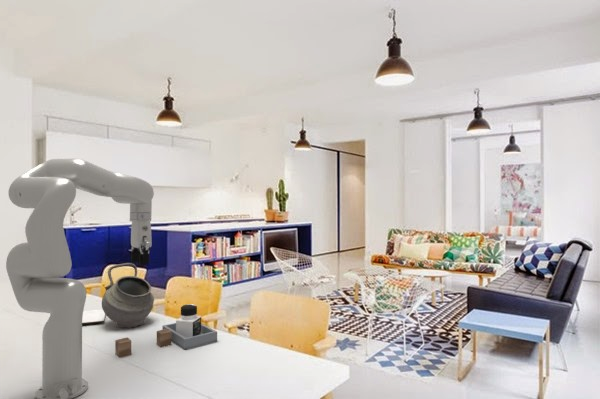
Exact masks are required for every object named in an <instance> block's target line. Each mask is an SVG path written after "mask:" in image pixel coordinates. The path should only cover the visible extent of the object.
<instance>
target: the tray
mask: <svg viewBox="0 0 600 399" xmlns="http://www.w3.org/2000/svg"><path fill="white" fill-rule="evenodd" d="M163 329H168V330H170V331H171V343H173V342H174V343H173V344H177V346H178V347H179V348H181V349H182V350H184V351H185V350H190V349H194V348H198V347H202V346H206V345H210V344H213V343H214V344H215V343H218V331H217V330H216V329H213V328H211V327H210V326H207V325H205V324H203V323H201V334H200V335H197V336H193V337H188V338H185V337H184V336H182V335H180V334H179V333H177V332H176V322H174V323H173V322H172V323H168V324H164V325H162V329H161V330H163Z"/></svg>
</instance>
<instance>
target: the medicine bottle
mask: <svg viewBox="0 0 600 399" xmlns="http://www.w3.org/2000/svg"><path fill="white" fill-rule="evenodd" d="M175 323H176V332H177V333H179V334H180V335H182V336H184V337H185V338H188V337H193V336H197V335H200V334H201V324H202V316H201V315H198V306H197V305H195V304H192V303H191V304H190V303H189V304H188V303H187V304H183V305H182V306H180V317H179V318H178V319H176V320H175Z"/></svg>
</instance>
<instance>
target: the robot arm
mask: <svg viewBox="0 0 600 399" xmlns="http://www.w3.org/2000/svg"><path fill="white" fill-rule="evenodd" d="M8 187H9V188H8V198H9V200H10V202H11V203H12V204H13V205H14V206H16V207H18V208H22V209H33V210H32V212H31V214H30V215H29V217H28V219H27V221H26V223H25V231H24V232H25V238H26V241H27V242H22V243H19V244H17V245H15V246H14V247H12V248H11V249H10V251H9V252H8V254H7V256H6V262H5V263H6V264H5V268H6V272H7V276H8V279H9V281H10V285H11V289H12V291H13V294H14V296H15V299H16V302H17V304H18V306H20V308H21V309H22V310H24V311H26V312H31V313H46V314H49V317H48V319H47V321H46V322H45V324H44V327H43V329H42V336H41V337H42V344H41V345H42V346H41V348H42V349H41V350H42V351H41V352H42V354H41V355H42V358H41V360H42V361H41V362H42V371H41V372H42V373H41V374H42V377H41V378H42V380H41V382H42V385H41V386H40V387H39V388H38V389H37V390H36V392H35V399H74V398H76V397H78V396H81V395H82V394H83V393H84V392H86V391H87V389H88V387H89V382H88V381H87V380H86V379H85V378H83V325H82V317H83V311H85V310H84V309H85V306H86V299H87V288H86V286H85V284H83V282H81V281H79V280H77V279H74V278H70V277H69V278H67V277H66V278H64V277H65V276H67V275H68V274H69V273H70V271H71V269H72V265H73V263H72V258H71V251H70V250H69V249H70V248H69V244H68V242H67V238H66V234H65V229H64V220H65V218H66V215H67V213H68V211H69V209H70V208H71V206H72V204H73V203H74V202H75V199H76V195H77V190H80V191H84V192H87V193H90V194H93V195H95V196H98V197H99V196H100V197H105V198H106V197H107V198H111V199H112V200H113V201H114V202H115V203H117V204H124V205H125V204H129V222H131V228H130V245H131V248H130V252H131V254H130V256H131V257H130V258H131V260H130V261H131V262H130V263H138V262H139V266H148V265H150V249H151V248H152V245H153V244H152V241H153V240H152V238H153V237H152V225H151V222H152V207H153V206H152V204H153V203H152V202H153V198H154V195H155V192H154V188H153V187H152V184H150V182H147V181H146V180H144V179H142V178H139V177H136V176H131V175H127V174H124V173H121V172H116V171H111V170H107V169H105V168H103V167H101V166H98V165H97V164H94V163H92V162H89V161H87V160H85V159H81V158H51V159H49V160H46V161H45V160H44V161H43V162H42V163H40V164H38V165H36V166H35V167H33V168H31V169H29V170H27V171H26V172H24V173H23V174H21V175H19V176H18V177H17V178H15V179H14V180H13V181H12V182H11V184H10V186H8Z"/></svg>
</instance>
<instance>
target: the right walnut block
mask: <svg viewBox="0 0 600 399" xmlns="http://www.w3.org/2000/svg"><path fill="white" fill-rule="evenodd" d="M156 345H157V346H158V347H160V348H164V346H165V347H168V345H169V346H172V341H171V331H170V330H168V329H163V330H162V329H160V330H159V329H158V330H156Z"/></svg>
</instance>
